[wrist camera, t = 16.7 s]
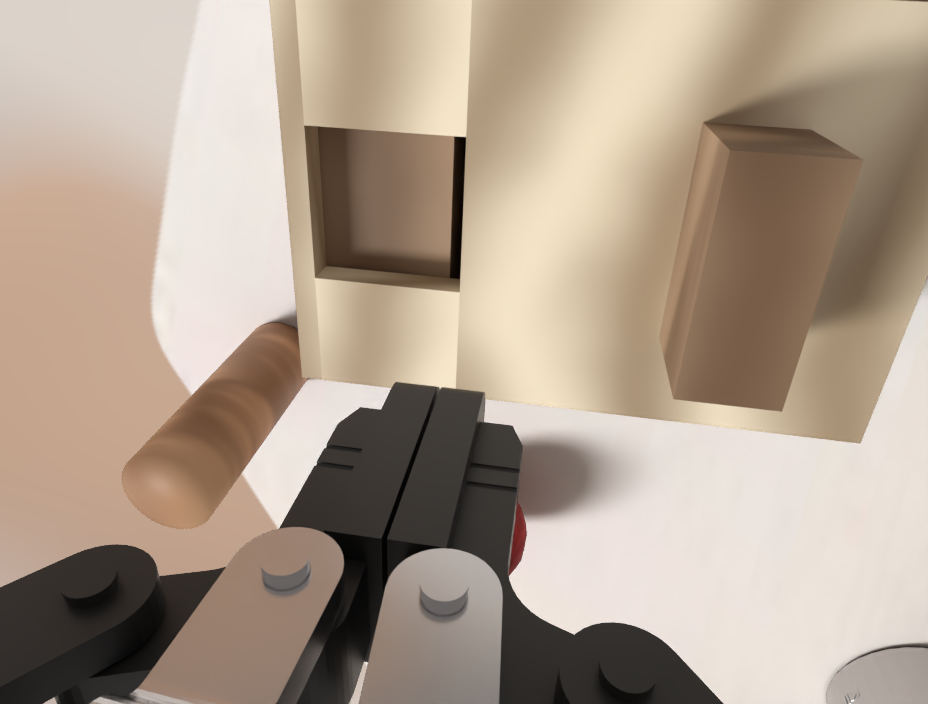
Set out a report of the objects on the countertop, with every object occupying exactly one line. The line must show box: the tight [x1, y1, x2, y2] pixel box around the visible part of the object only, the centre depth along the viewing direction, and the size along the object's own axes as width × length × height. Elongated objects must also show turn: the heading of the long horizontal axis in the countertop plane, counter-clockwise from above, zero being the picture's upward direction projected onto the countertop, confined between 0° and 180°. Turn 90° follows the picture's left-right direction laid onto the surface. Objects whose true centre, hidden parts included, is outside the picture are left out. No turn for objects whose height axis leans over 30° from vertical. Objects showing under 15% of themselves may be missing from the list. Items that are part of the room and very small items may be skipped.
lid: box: [269, 0, 928, 443], centre depth 20 cm, size 20×14×5 cm, turn 88°
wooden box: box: [318, 0, 928, 279], centre depth 26 cm, size 20×14×9 cm
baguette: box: [122, 323, 308, 529], centre depth 33 cm, size 4×4×12 cm
